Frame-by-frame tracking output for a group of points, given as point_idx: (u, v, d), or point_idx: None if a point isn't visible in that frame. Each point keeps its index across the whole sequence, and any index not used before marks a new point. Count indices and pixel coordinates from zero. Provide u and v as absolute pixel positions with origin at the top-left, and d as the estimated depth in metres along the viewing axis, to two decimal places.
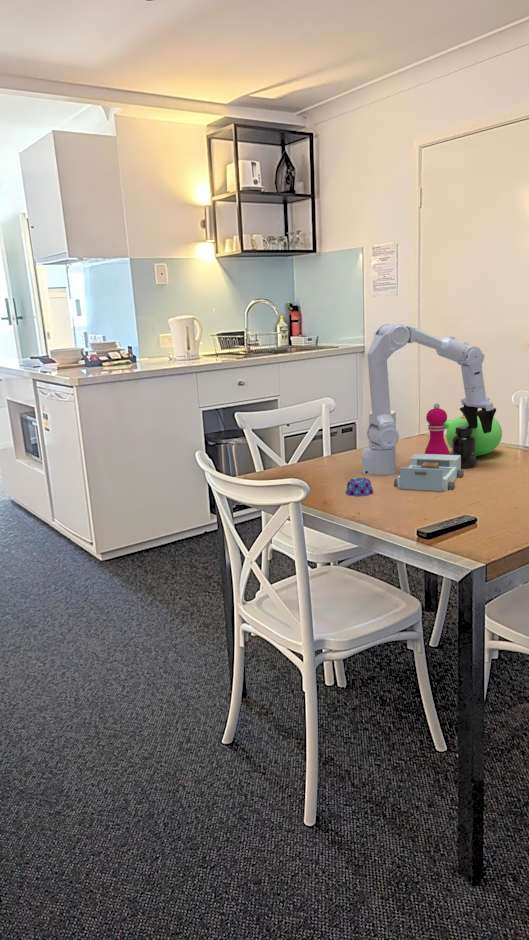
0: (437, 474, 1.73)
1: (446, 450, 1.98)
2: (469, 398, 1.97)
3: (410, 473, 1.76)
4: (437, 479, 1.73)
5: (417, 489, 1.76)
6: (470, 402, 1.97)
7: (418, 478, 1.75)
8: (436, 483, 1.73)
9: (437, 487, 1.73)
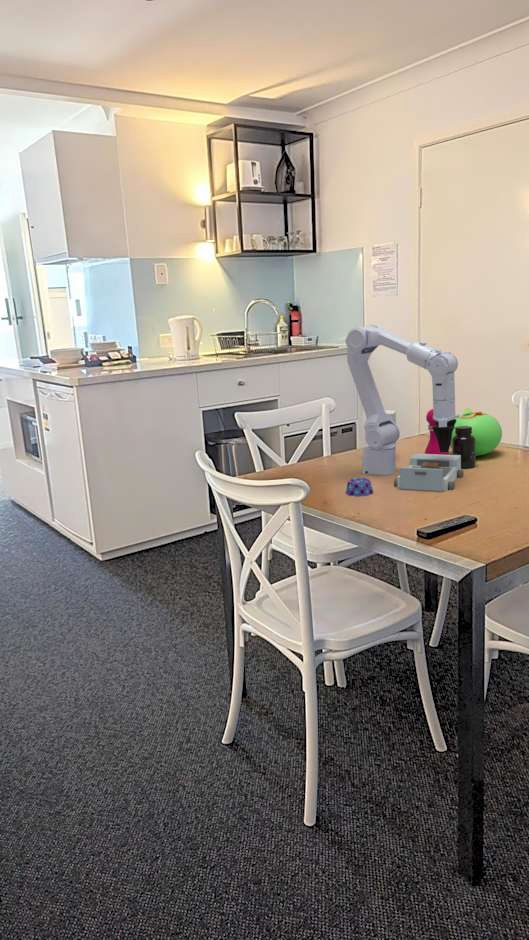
0: (437, 474, 1.73)
1: None
2: (433, 410, 1.79)
3: (410, 473, 1.76)
4: (437, 479, 1.73)
5: (417, 489, 1.76)
6: (434, 415, 1.79)
7: (418, 478, 1.75)
8: (436, 483, 1.73)
9: (437, 487, 1.73)
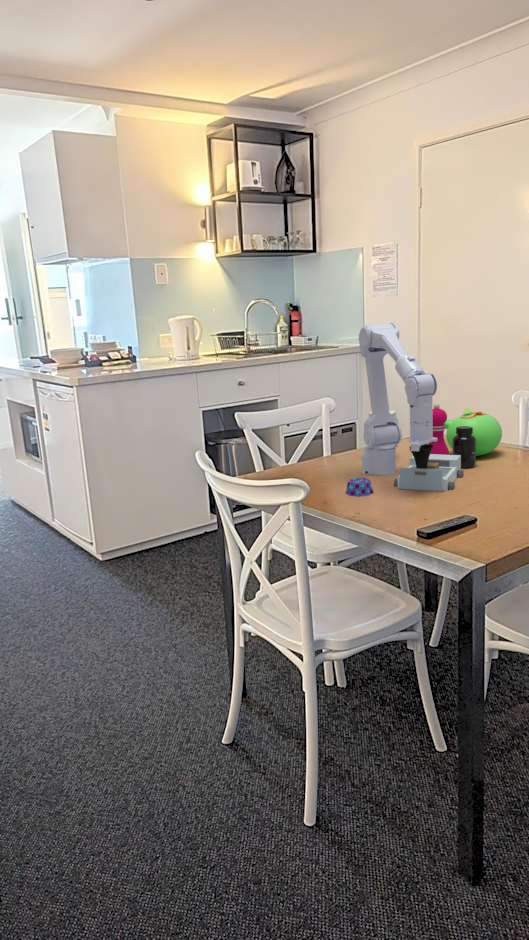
0: (437, 474, 1.73)
1: (446, 450, 1.98)
2: (410, 432, 1.73)
3: (410, 473, 1.76)
4: (437, 479, 1.73)
5: (417, 489, 1.76)
6: (410, 437, 1.73)
7: (418, 478, 1.75)
8: (436, 483, 1.73)
9: (437, 487, 1.73)
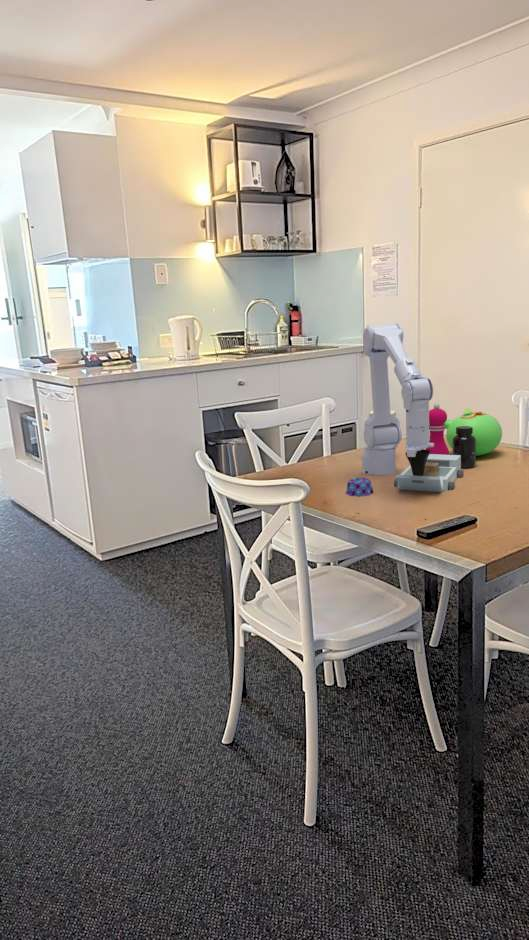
0: (434, 482, 1.70)
1: (446, 450, 1.98)
2: (406, 437, 1.70)
3: (407, 481, 1.73)
4: (436, 485, 1.71)
5: (417, 490, 1.76)
6: (406, 442, 1.70)
7: (416, 484, 1.73)
8: (435, 487, 1.72)
9: (436, 490, 1.73)
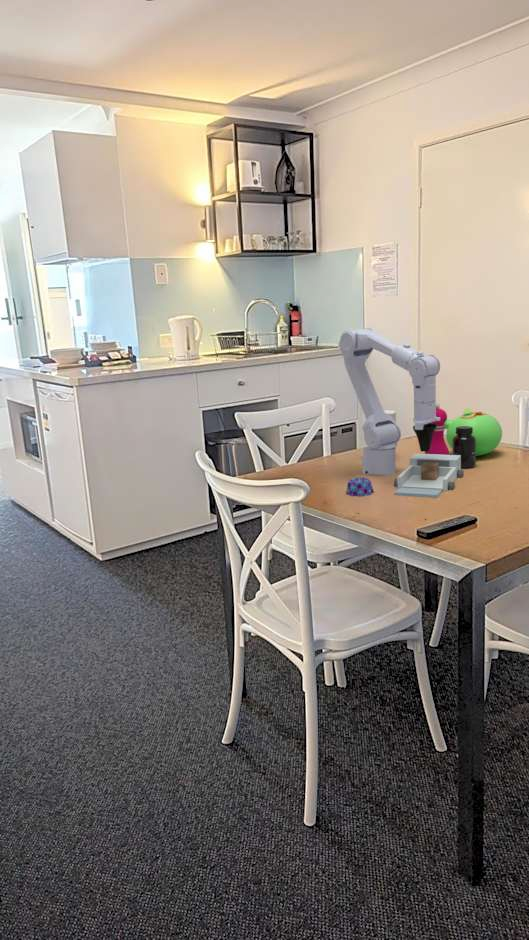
0: None
1: (446, 450, 1.98)
2: (414, 412, 1.80)
3: None
4: None
5: None
6: (414, 417, 1.80)
7: None
8: None
9: None
